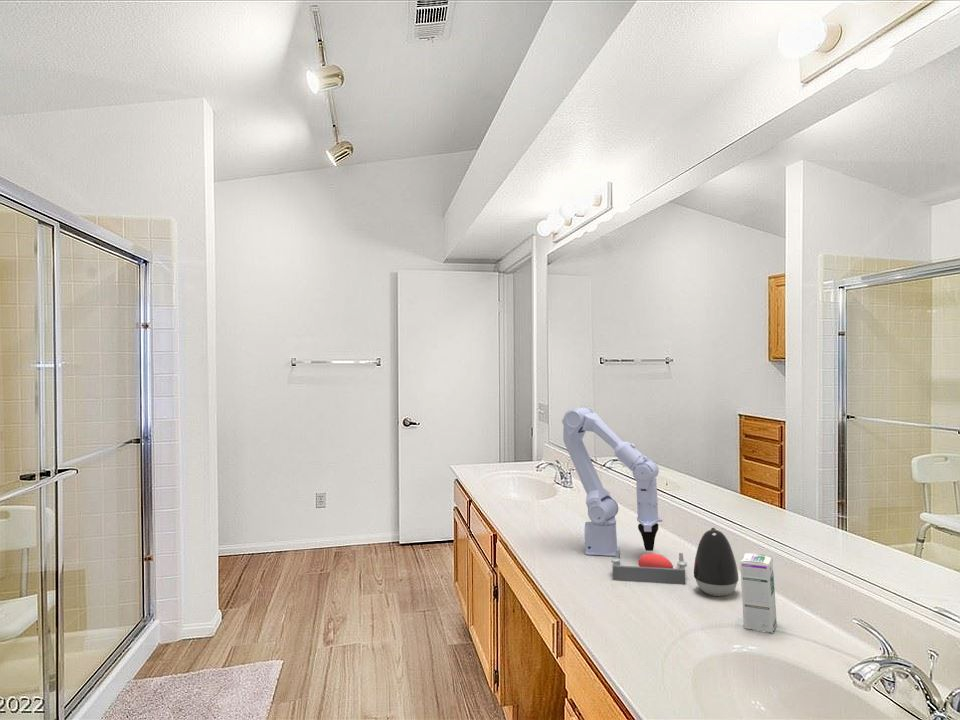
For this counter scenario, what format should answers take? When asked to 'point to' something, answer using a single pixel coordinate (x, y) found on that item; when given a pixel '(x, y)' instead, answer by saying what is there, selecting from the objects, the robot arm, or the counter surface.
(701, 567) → the black egg-shaped device
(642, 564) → the red kidney bean shape
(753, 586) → the syrup box
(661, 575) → the gray u-shaped bracket
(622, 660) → the counter surface
